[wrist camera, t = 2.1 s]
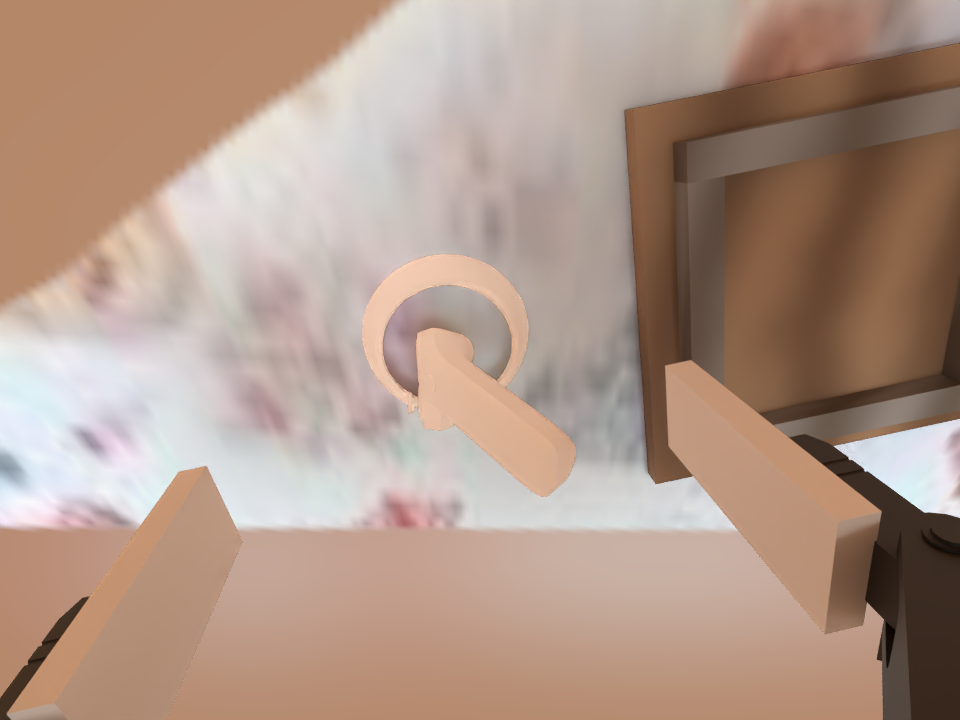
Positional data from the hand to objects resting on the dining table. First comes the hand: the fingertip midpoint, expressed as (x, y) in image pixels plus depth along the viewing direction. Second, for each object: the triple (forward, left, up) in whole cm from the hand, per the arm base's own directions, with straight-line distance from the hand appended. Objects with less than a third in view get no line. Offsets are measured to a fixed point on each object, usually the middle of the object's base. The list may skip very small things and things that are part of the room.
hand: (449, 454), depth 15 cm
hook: (0, 0, -10) cm, 10 cm away
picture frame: (-18, +1, -10) cm, 21 cm away
